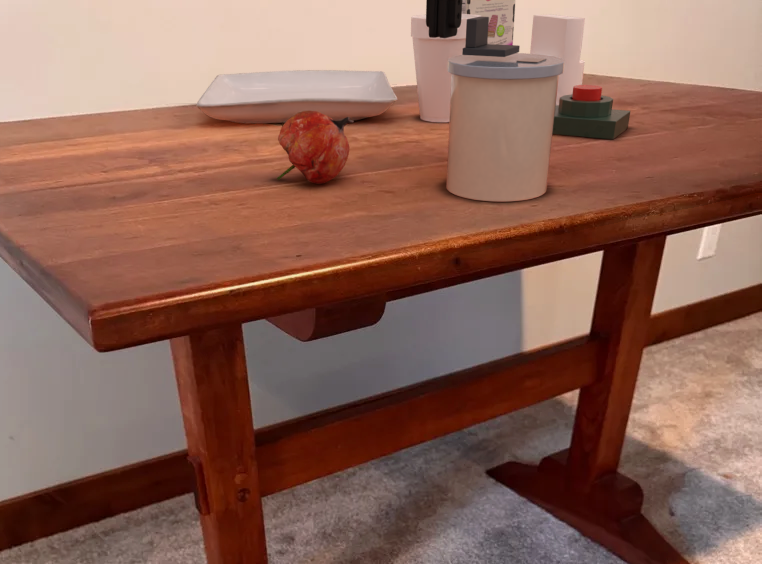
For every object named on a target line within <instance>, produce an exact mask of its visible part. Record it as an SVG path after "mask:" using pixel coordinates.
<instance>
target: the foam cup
mask: <svg viewBox="0 0 762 564" xmlns="http://www.w3.org/2000/svg"><path fill="white" fill-rule="evenodd" d="M475 17H481V16H480V15H472V14H462V17H461V25H460V27H459V28H457V35H456V36H452V37H448V38H440V37H436V38H430V37H429V27H427V25H426V13H425V14H416V15H412V16H411V17H410V37H412V48H413V58H414V67H415V78H416V80H415V81H416V89H417V97H418V98H417V100H418V109H419V115H420V116H419V117H420V120H422V121H425V122H431V123H449V116H450V94H451V73H449V72H448V70H447V66H448V59H449V58H452V57H455V56H460V55H462V51H463V48H465V44H466V24H467V19H470V18H475Z"/></svg>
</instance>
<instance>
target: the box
mask: <svg viewBox="0 0 762 564" xmlns="http://www.w3.org/2000/svg"><path fill="white" fill-rule="evenodd" d="M613 103H614V98H613V97H611V96H607V95H602V94H601V100H598V101H579V100H573V99H572V95H564V96H562V97H560V100H559V105H556V107H555V116H554V125H553V134H552V135H557V136H558V135H560V136H570V137H578V138H579V137H580V138H591V139H602V140H612V141H613V140H615V139H617V137H619V136H621V134H622V133H624V132H625V131H626V130H627V129H628V128H629V124H630V117H631V110H624V109H613Z"/></svg>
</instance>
